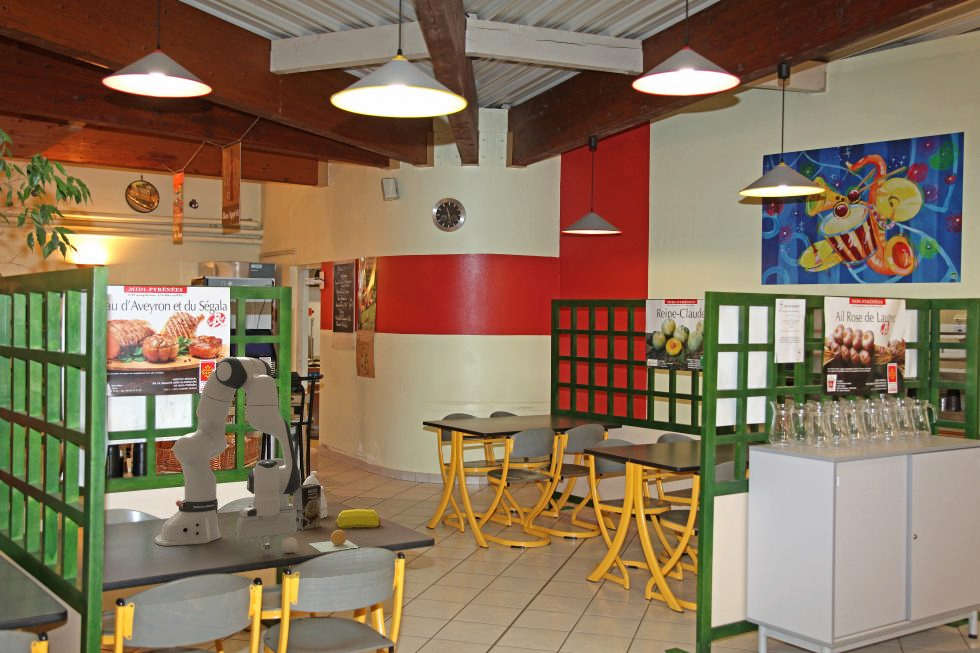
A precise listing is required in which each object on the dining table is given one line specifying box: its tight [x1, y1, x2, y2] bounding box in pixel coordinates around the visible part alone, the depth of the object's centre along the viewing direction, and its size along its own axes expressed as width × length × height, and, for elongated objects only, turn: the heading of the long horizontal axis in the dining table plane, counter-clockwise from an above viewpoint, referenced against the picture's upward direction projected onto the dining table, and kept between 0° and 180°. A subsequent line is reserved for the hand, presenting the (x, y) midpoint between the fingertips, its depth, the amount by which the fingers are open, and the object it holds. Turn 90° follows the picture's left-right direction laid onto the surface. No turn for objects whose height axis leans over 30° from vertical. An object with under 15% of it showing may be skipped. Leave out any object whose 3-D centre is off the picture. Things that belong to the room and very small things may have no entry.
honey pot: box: [302, 470, 328, 519], centre depth 367 cm, size 13×13×18 cm
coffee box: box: [292, 484, 322, 531], centre depth 347 cm, size 9×6×16 cm
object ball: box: [330, 529, 347, 546], centre depth 318 cm, size 6×6×6 cm
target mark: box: [308, 539, 359, 554], centre depth 316 cm, size 14×14×1 cm
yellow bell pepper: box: [334, 508, 382, 529], centre depth 349 cm, size 18×7×8 cm
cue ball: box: [280, 536, 299, 554], centre depth 306 cm, size 6×6×6 cm
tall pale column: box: [268, 457, 290, 507], centre depth 378 cm, size 11×4×22 cm, turn 96°
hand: (266, 549), depth 305 cm, fingers closed
